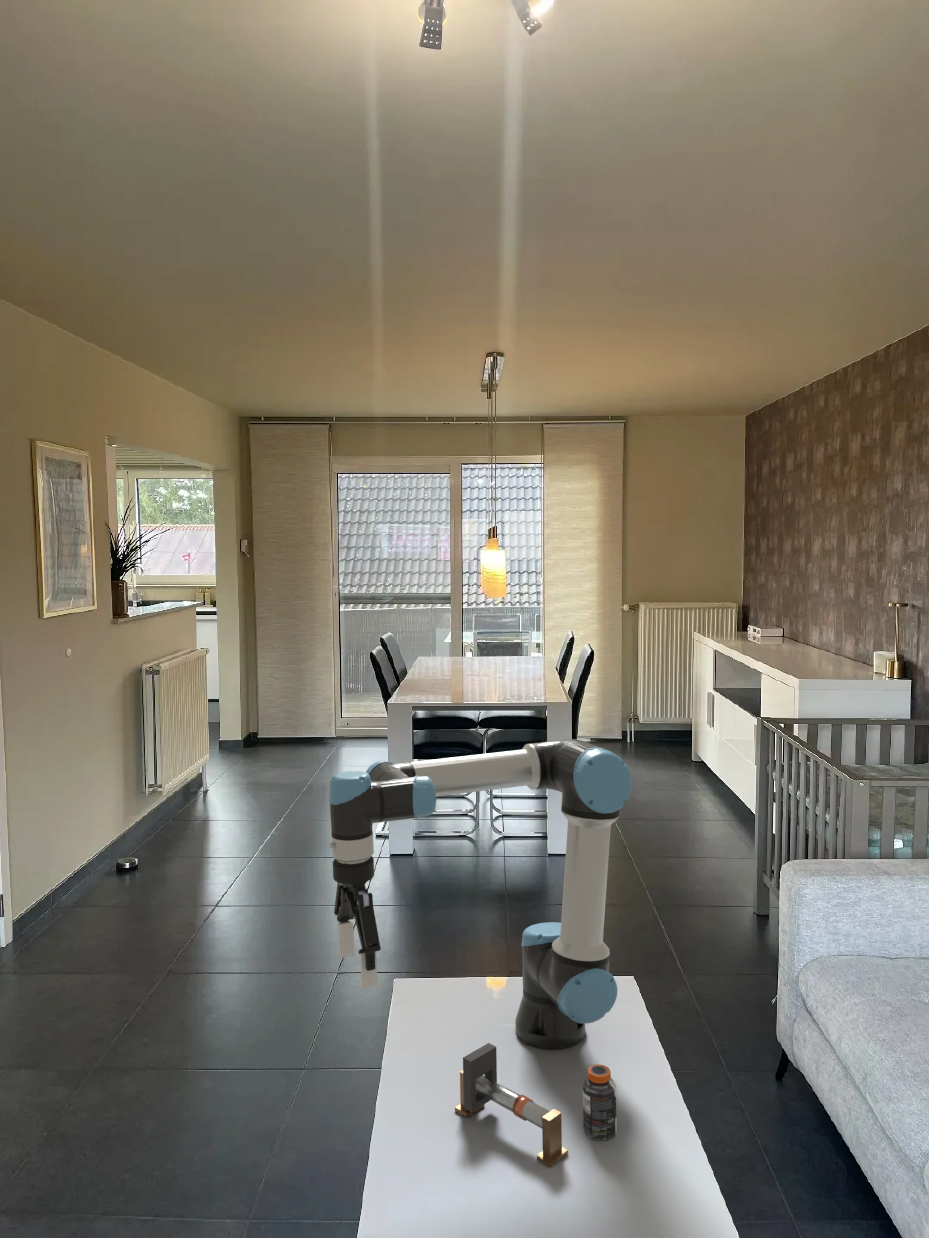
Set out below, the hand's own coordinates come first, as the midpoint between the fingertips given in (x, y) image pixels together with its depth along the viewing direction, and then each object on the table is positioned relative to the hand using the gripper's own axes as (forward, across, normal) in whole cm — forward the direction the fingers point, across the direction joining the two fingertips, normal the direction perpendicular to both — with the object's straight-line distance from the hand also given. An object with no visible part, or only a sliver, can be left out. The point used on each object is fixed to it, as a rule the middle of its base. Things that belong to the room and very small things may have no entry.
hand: (357, 970), depth 162 cm
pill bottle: (+28, +24, +36) cm, 52 cm away
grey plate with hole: (+25, +11, +19) cm, 33 cm away
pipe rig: (+27, +17, +22) cm, 39 cm away
